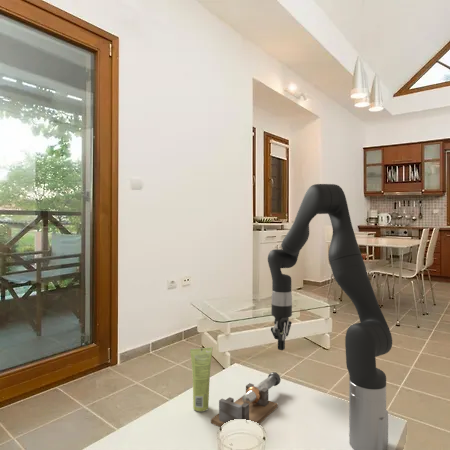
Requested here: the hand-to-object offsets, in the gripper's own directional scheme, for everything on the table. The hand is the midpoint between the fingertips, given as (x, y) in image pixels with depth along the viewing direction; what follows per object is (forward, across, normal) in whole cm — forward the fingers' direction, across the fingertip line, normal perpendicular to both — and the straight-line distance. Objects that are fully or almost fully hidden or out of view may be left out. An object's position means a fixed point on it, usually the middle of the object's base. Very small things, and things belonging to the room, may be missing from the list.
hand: (281, 349), depth 131 cm
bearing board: (+13, -25, 0) cm, 28 cm away
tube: (+14, -30, +14) cm, 36 cm away
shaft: (+11, -15, 0) cm, 19 cm away
